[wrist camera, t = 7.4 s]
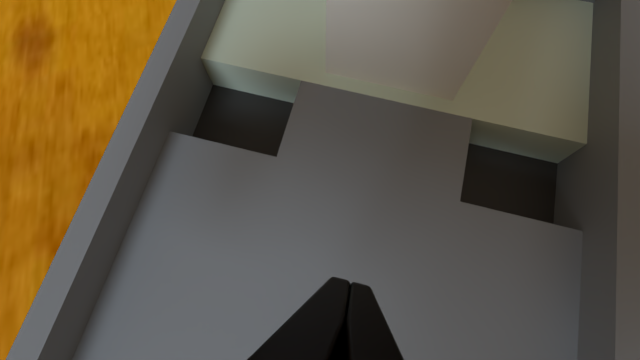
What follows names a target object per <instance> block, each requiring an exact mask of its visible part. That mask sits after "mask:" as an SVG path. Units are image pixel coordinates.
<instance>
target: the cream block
mask: <svg viewBox="0 0 640 360" xmlns="http://www.w3.org/2000/svg"><path fill="white" fill-rule="evenodd" d="M511 2H512V0H326V73H329V74H333V75H338V76H342V77H347V78H352V79H356V80H361V81H365V82H370V83H374V84H379V85H383V86H388V87H393V88H397V89H402V90H406V91H411V92H415V93H420V94H424V95H429V96H434V97H438V98H443V99H447V100H452V101H453V99H454V98H455V96H456V94H457V93H458V91H459V89H460V87H461V86H462V84H463V82H464V81H465V79H466V77H467V76H468V74H469V72H470V71H471V69H472V67H473V66H474V64H475V62H476V61H477V59H478V57H479V56H480V54H481V52H482V51H483V49H484V47H485V46H486V44H487V42H488V40H489V39H490V37H491V35H492V34H493V32H494V30H495V29H496V27H497V25H498V24H499V22H500V20H501V19H502V17H503V15H504V14H505V12H506V10H507V9H508V7H509V5H510V4H511Z"/></svg>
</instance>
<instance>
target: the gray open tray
mask: <svg viewBox="0 0 640 360" xmlns="http://www.w3.org/2000/svg"><path fill="white" fill-rule="evenodd" d="M331 277H338V278H342V279H345V280H348V281H349V282H350V284H351V283H352V282H357V283H360V284H364V285H368V286H370V287H371V289H372V291H373V293H374V295H375V298H376V300H377V302H378V304H379V306H380V309H381V311H382V313H383V315H384V317H385V319H386V322H387V324H388V326H389V328H390V330H391V332H392V335H393V337H394V339H395V341H396V343H397V346H398V348H399V350H400V352H401V354H402V356H403V359H404V360H640V0H512V2H511V4H510V5H509V7H508V9H507V10H506V12H505V14H504V15H503V17H502V19H501V20H500V22H499V24H498V25H497V27H496V29H495V30H494V32H493V34H492V35H491V37H490V39H489V40H488V42H487V44H486V46H485V47H484V49H483V51H482V52H481V54H480V56H479V57H478V59H477V61H476V62H475V64H474V66H473V67H472V69H471V71H470V72H469V74H468V76H467V77H466V79H465V81H464V82H463V84H462V86H461V87H460V89H459V91H458V93H457V94H456V96H455V98H454V99H453V101H452V100H447V99H443V98H438V97H434V96H429V95H424V94H420V93H415V92H411V91H406V90H402V89H397V88H393V87H388V86H383V85H379V84H374V83H370V82H365V81H361V80H356V79H352V78H347V77H342V76H338V75H333V74H329V73H326V0H177V1H176V3H175V6H174V8H173V10H172V12H171V14H170V16H169V18H168V20H167V22H166V24H165V27H164V29H163V31H162V33H161V35H160V37H159V39H158V41H157V43H156V45H155V48H154V50H153V52H152V54H151V56H150V58H149V60H148V62H147V64H146V66H145V69H144V71H143V73H142V75H141V77H140V79H139V81H138V83H137V85H136V87H135V89H134V92H133V94H132V96H131V98H130V100H129V102H128V104H127V106H126V108H125V110H124V113H123V115H122V117H121V119H120V121H119V123H118V125H117V127H116V129H115V131H114V134H113V136H112V138H111V140H110V142H109V144H108V146H107V148H106V150H105V152H104V155H103V157H102V159H101V161H100V163H99V165H98V167H97V169H96V171H95V173H94V175H93V178H92V180H91V182H90V184H89V186H88V188H87V190H86V192H85V194H84V196H83V199H82V201H81V203H80V205H79V207H78V209H77V211H76V213H75V215H74V217H73V220H72V222H71V224H70V226H69V228H68V230H67V232H66V234H65V236H64V238H63V241H62V243H61V245H60V247H59V249H58V251H57V253H56V255H55V257H54V259H53V261H52V264H51V266H50V268H49V270H48V272H47V274H46V276H45V278H44V280H43V282H42V285H41V287H40V289H39V291H38V293H37V295H36V297H35V299H34V301H33V303H32V306H31V308H30V310H29V312H28V314H27V316H26V318H25V320H24V322H23V324H22V327H21V329H20V331H19V333H18V335H17V337H16V339H15V341H14V343H13V345H12V347H11V350H10V352H9V354H8V356H7V358H6V360H247V359H248V358H249V357H250V356H251V355H252V354H253V353H254V352H255V351H256V350H257V349H258V348H259V347H260V346H261V345H262V344H263V343H264V342H265V341H266V340H267V339H268V338H269V337H270V336H271V335H272V334H273V333H275V332H276V331H277V330H278V329H279V328H280V327H281V326H282V325H283V324H284V323H285V322H286V321H287V320H288V319H289V318H290V317H291V316H292V315H293V314H294V313H295V312H296V311H297V310H298V309H299V308H300V307H301V306H302V305H303V304H304V303H305V302H306V301H307V300H308V299H309V298H310V297H311V296H312V295H313V294H314V293H315V292H316V291H317V290H318V289H319V288H320V287H321V286H322V285H323V284H324V283H326V282H327V281H328V280H329V279H330V278H331Z"/></svg>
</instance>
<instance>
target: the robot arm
mask: <svg viewBox="0 0 640 360" xmlns="http://www.w3.org/2000/svg"><path fill="white" fill-rule="evenodd" d="M247 360H404V359H403V356H402V354H401V352H400V350H399V348H398V346H397V343H396V341H395V339H394V337H393V335H392V332H391V330H390V328H389V326H388V324H387V322H386V319H385V317H384V315H383V313H382V311H381V309H380V306H379V304H378V302H377V300H376V298H375V295H374V293H373V291H372V289H371V287H370V286H368V285H364V284H360V283H357V282H352V283H351V284H350V282H349V281H348V280H345V279H342V278H338V277H331V278H330V279H329V280H328V281H327V282H326V283H324V284H323V285H322V286H321V287H320V288H319V289H318V290H317V291H316V292H315V293H314V294H313V295H312V296H311V297H310V298H309V299H308V300H307V301H306V302H305V303H304V304H303V305H302V306H301V307H300V308H299V309H298V310H297V311H296V312H295V313H294V314H293V315H292V316H291V317H290V318H289V319H288V320H287V321H286V322H285V323H284V324H283V325H282V326H281V327H280V328H279V329H278V330H277V331H276V332H275V333H273V334H272V335H271V336H270V337H269V338H268V339H267V340H266V341H265V342H264V343H263V344H262V345H261V346H260V347H259V348H258V349H257V350H256V351H255V352H254V353H253V354H252V355H251V356H250V357H249V358H248V359H247Z"/></svg>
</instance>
